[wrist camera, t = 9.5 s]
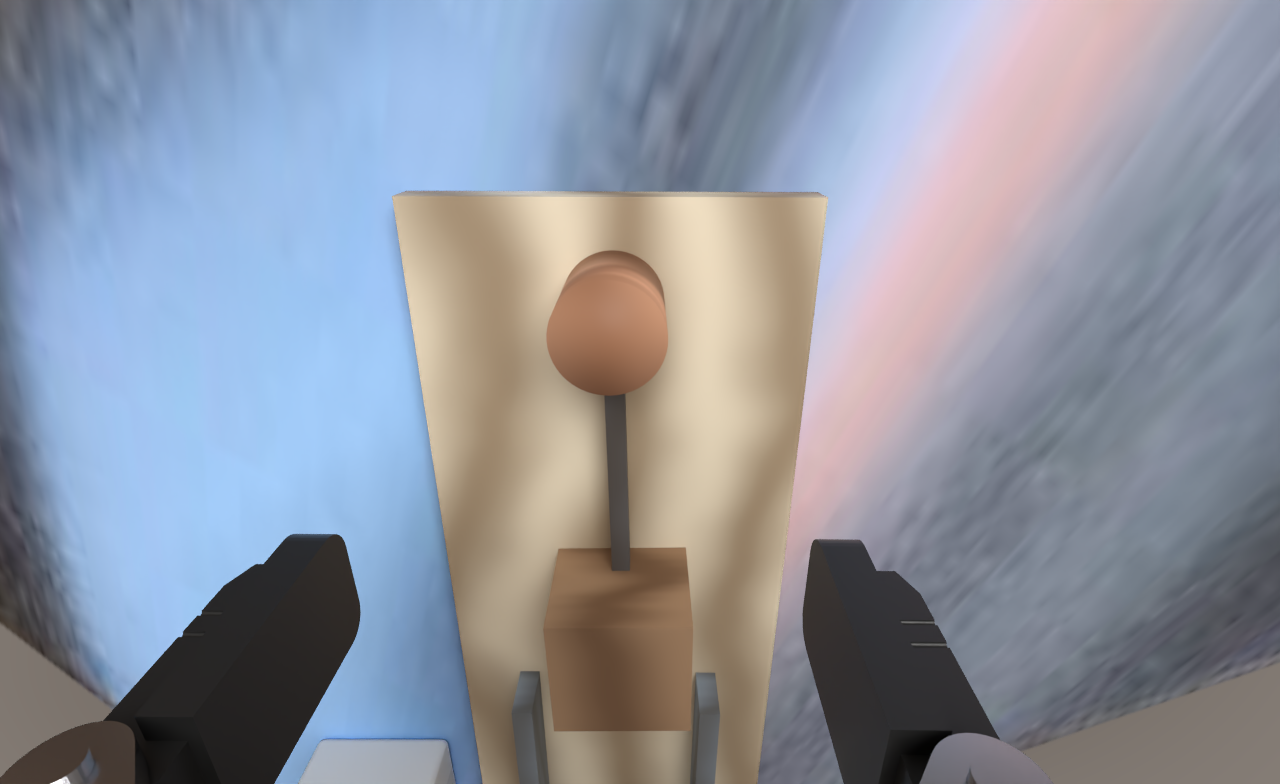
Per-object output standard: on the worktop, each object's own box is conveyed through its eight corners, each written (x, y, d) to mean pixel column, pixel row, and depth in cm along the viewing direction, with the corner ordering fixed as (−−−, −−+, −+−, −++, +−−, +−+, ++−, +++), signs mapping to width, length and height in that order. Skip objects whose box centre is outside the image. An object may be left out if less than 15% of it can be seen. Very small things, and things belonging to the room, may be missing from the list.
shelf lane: (817, 192, 25) (848, 207, 21) (749, 792, 40) (759, 862, 36) (406, 191, 25) (364, 206, 21) (493, 790, 40) (477, 860, 36)
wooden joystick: (690, 249, 24) (701, 282, 19) (684, 642, 32) (690, 730, 28) (533, 251, 24) (507, 286, 20) (566, 643, 32) (553, 731, 28)
